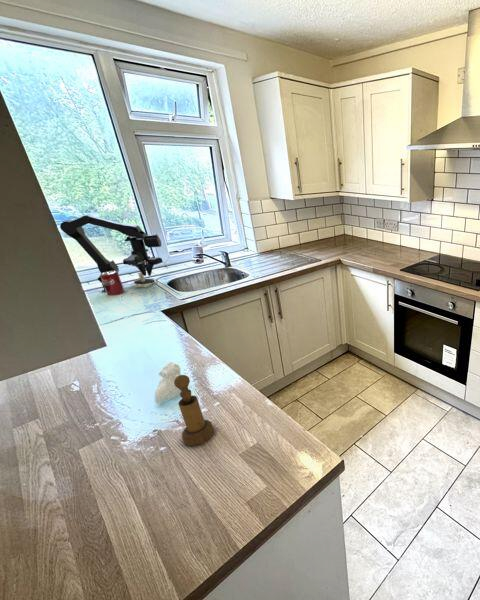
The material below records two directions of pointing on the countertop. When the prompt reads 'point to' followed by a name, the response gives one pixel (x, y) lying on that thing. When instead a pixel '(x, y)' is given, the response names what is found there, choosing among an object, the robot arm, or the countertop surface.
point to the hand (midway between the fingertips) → (147, 275)
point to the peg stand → (142, 280)
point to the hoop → (144, 281)
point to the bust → (167, 383)
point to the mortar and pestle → (192, 415)
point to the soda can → (112, 283)
